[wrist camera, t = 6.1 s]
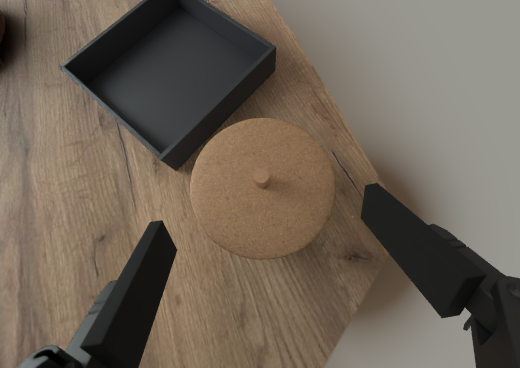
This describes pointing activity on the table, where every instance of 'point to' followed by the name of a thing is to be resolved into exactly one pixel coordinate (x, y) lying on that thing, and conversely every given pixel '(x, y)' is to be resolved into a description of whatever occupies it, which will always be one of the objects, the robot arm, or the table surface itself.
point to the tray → (172, 73)
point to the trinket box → (263, 188)
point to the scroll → (2, 27)
